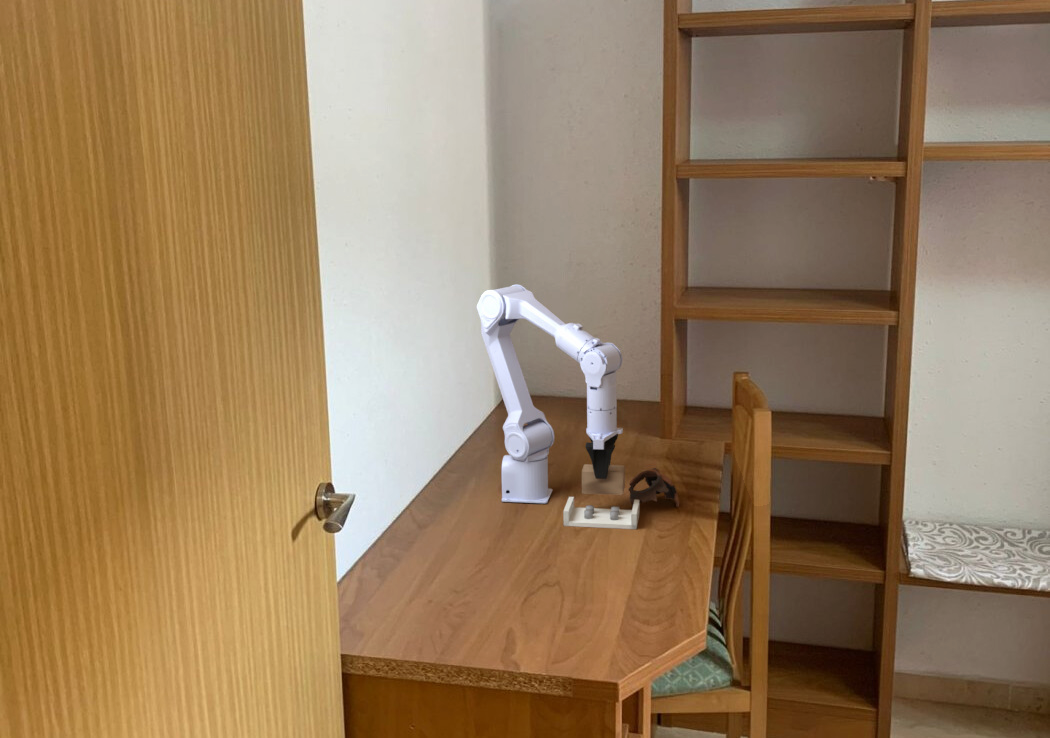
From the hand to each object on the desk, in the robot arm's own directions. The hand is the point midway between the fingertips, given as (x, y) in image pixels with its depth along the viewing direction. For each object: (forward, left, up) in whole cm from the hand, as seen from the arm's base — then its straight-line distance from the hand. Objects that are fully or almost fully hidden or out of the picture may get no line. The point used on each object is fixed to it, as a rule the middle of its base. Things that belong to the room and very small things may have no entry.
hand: (602, 474), depth 203 cm
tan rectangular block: (0, 0, -3) cm, 3 cm away
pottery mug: (+10, +8, -9) cm, 15 cm away
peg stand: (0, -3, -9) cm, 9 cm away
